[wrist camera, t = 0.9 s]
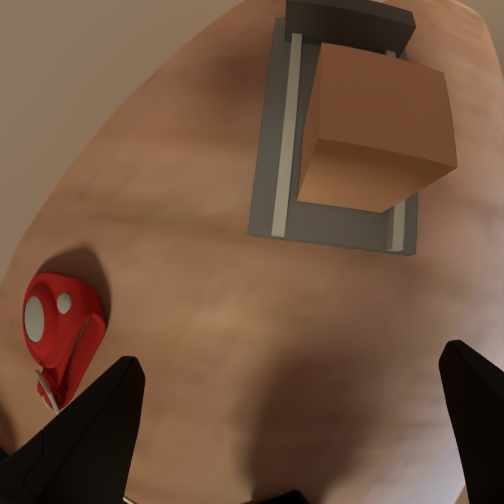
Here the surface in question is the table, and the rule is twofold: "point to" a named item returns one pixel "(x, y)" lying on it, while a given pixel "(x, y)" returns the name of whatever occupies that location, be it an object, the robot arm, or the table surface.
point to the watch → (3, 455)
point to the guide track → (293, 120)
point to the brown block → (373, 130)
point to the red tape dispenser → (61, 333)
